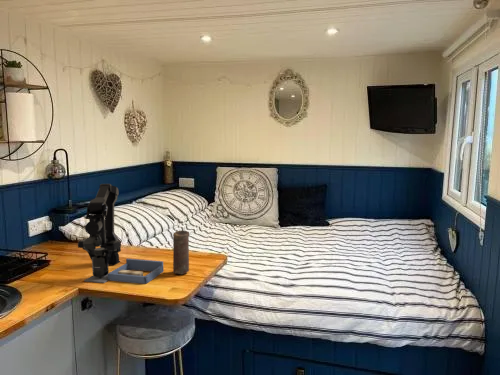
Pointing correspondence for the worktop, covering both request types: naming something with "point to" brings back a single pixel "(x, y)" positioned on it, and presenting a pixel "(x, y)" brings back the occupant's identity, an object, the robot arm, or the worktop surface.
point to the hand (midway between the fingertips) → (100, 262)
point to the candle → (181, 252)
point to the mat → (97, 279)
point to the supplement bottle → (99, 263)
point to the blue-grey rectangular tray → (137, 265)
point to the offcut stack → (131, 272)
